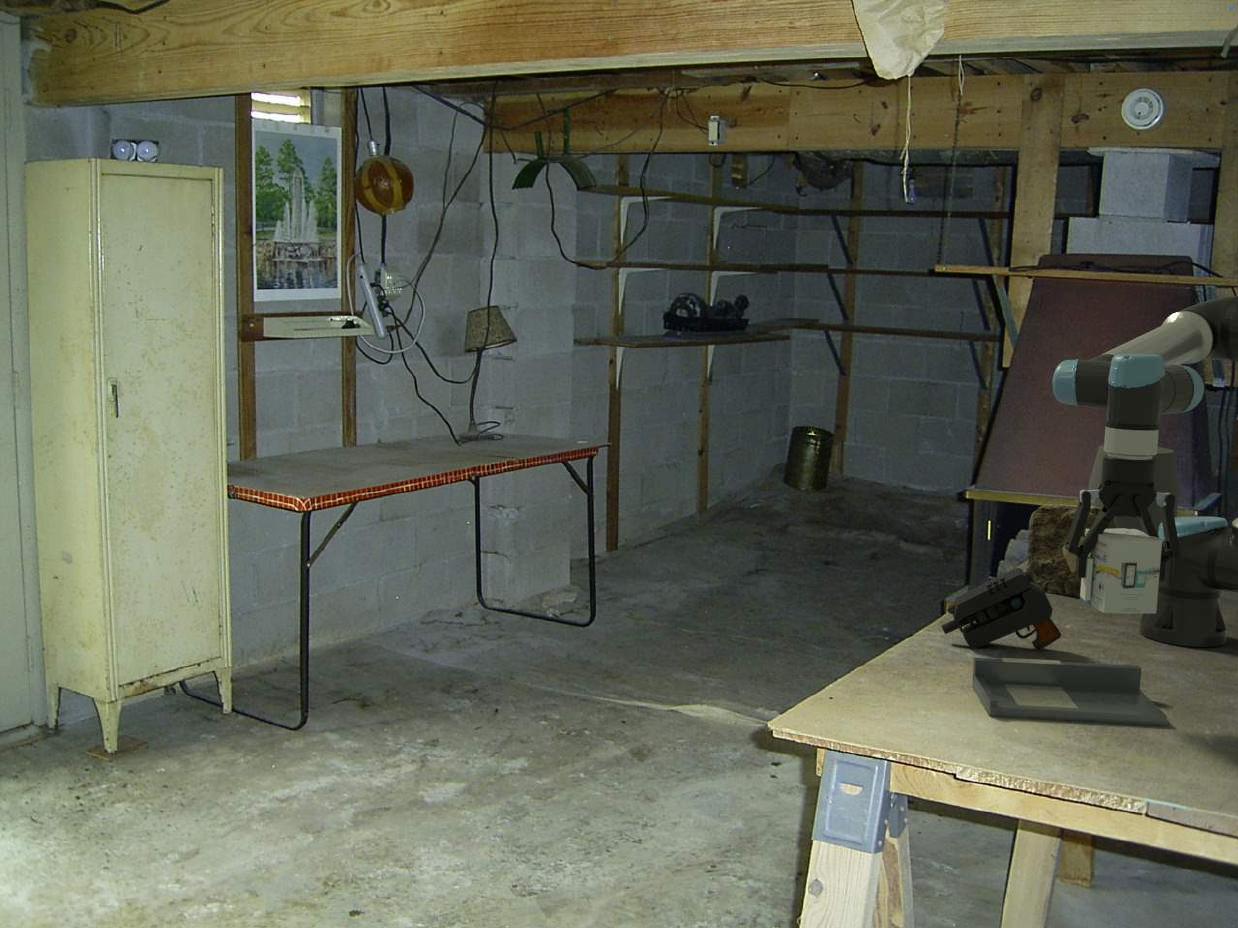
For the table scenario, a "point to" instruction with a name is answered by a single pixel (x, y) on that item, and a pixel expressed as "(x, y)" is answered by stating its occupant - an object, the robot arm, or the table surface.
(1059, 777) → the table surface
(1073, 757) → the table surface
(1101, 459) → the grey tapered cylinder
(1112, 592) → the ink box
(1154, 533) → the robot arm
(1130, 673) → the tray
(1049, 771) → the table surface
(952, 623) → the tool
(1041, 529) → the stone block
